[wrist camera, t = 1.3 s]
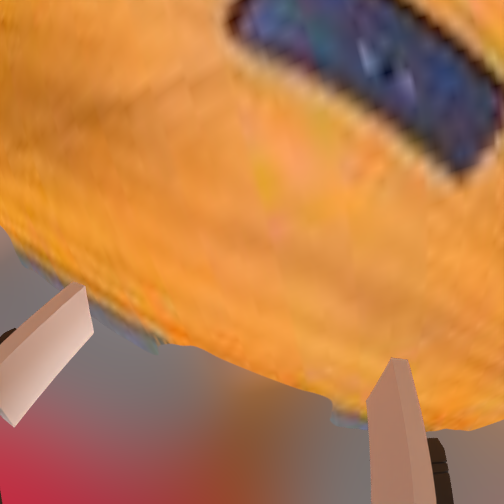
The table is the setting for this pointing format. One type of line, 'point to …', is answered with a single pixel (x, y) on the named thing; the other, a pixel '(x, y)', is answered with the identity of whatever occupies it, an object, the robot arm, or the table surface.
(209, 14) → the table surface
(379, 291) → the table surface
